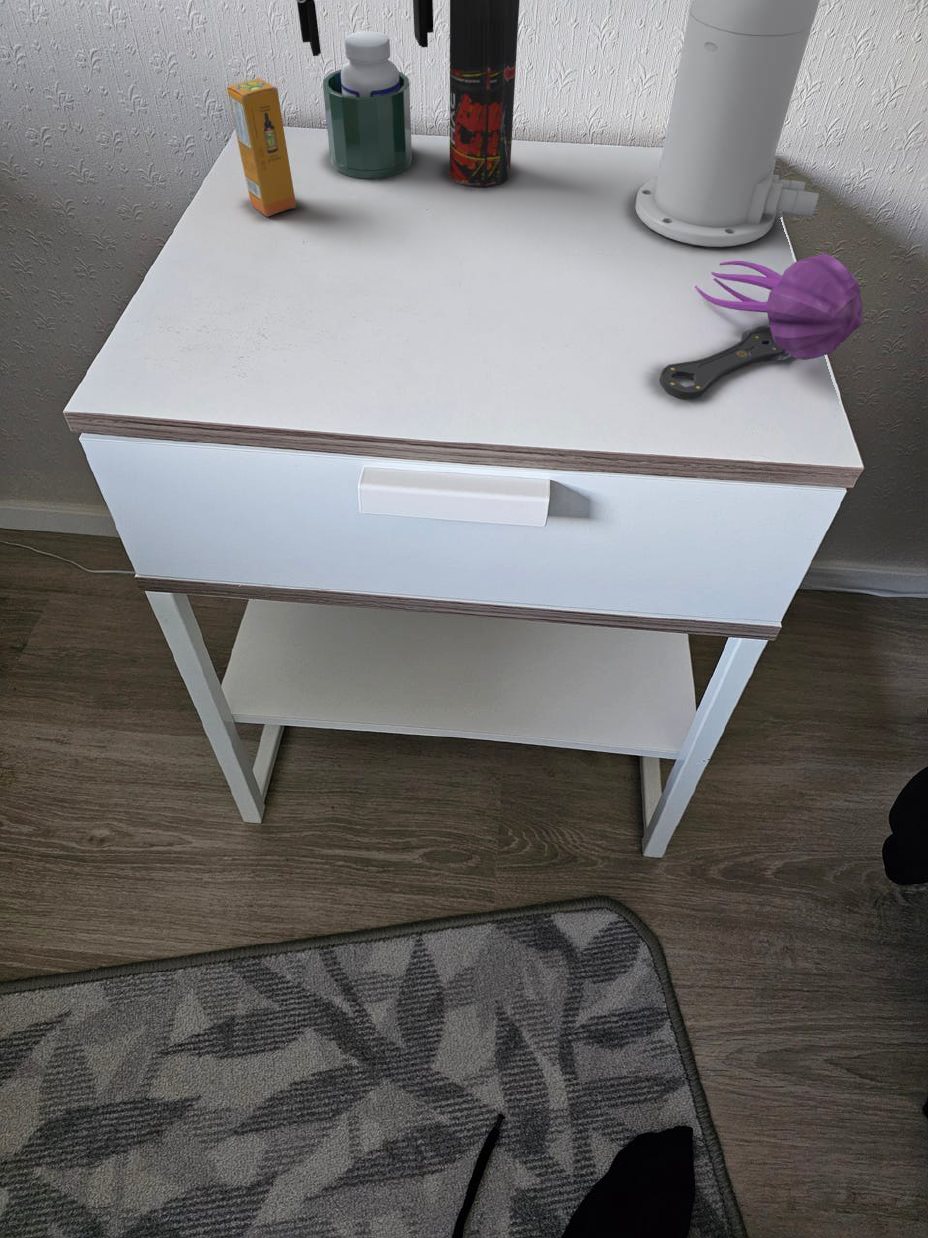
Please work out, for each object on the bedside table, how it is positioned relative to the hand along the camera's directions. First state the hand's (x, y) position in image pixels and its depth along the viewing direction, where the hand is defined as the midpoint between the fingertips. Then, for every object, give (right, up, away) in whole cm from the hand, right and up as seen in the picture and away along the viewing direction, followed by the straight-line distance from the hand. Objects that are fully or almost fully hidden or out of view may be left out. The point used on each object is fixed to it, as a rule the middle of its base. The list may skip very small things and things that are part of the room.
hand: (368, 46), depth 76 cm
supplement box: (-9, -14, +2) cm, 17 cm away
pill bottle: (0, -6, +7) cm, 9 cm away
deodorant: (+10, -8, +7) cm, 15 cm away
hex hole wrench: (+32, -30, -12) cm, 45 cm away
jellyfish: (+28, -24, -7) cm, 38 cm away
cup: (-1, -6, +8) cm, 10 cm away
